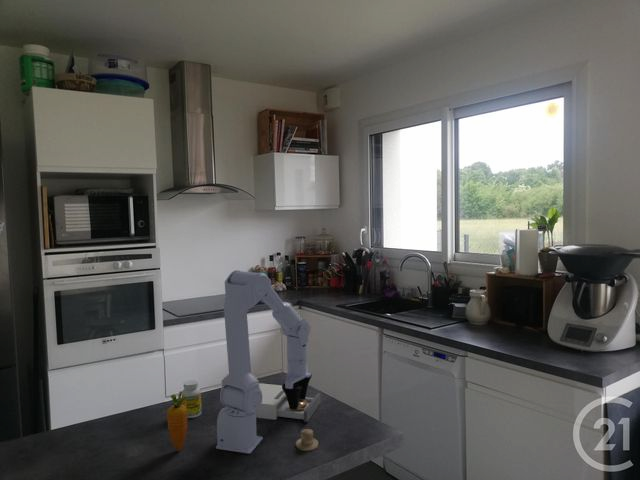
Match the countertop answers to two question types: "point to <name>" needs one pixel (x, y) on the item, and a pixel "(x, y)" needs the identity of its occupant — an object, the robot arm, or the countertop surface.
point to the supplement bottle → (192, 398)
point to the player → (270, 400)
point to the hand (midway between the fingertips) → (297, 403)
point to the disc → (301, 405)
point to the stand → (307, 441)
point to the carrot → (177, 421)
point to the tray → (306, 414)
